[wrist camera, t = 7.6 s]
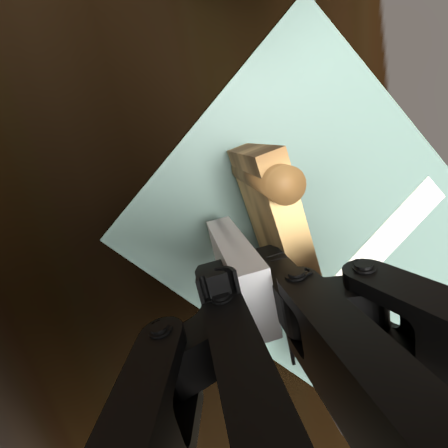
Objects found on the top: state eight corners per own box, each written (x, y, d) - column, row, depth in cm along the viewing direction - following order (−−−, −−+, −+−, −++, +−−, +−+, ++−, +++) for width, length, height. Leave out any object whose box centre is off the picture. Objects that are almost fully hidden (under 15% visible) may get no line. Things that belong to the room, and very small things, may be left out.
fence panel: (304, 318, 20) (365, 402, 14) (285, 326, 20) (337, 414, 14) (248, 142, 17) (296, 145, 10) (224, 151, 17) (258, 159, 10)
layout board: (387, 435, 26) (391, 440, 25) (100, 238, 18) (99, 240, 17) (540, 287, 24) (547, 289, 24) (301, -7, 16) (305, -11, 16)
